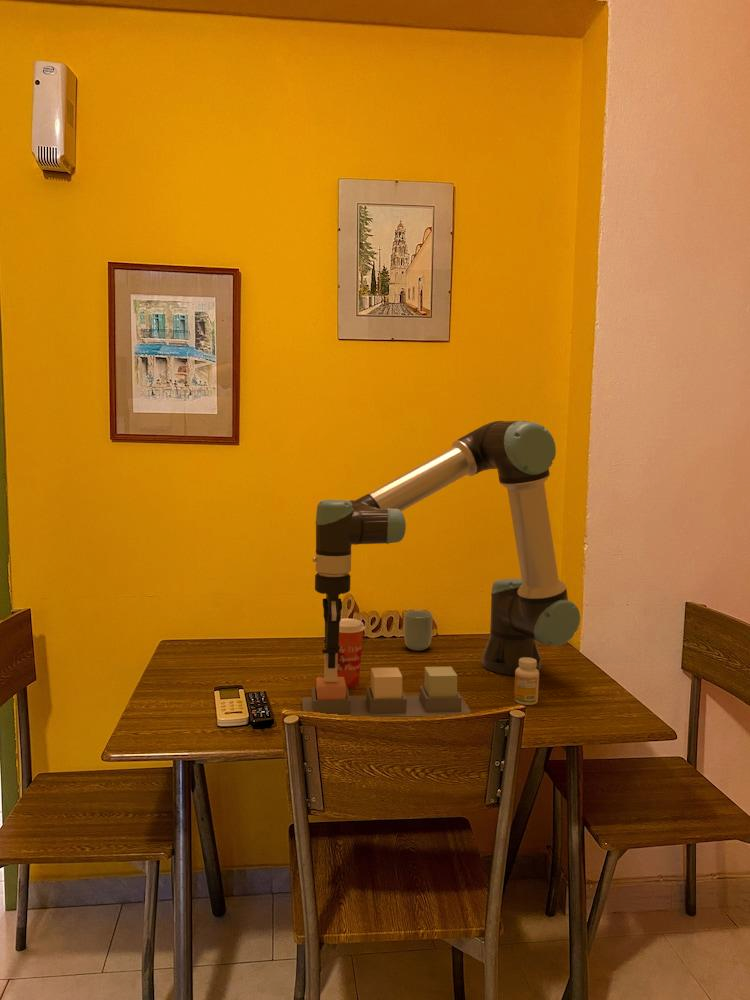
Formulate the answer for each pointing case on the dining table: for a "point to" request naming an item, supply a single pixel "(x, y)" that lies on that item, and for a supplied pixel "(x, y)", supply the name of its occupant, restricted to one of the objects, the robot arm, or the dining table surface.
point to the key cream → (386, 683)
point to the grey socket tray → (388, 705)
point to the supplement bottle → (526, 682)
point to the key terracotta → (330, 689)
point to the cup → (418, 629)
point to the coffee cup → (350, 650)
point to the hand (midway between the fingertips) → (330, 680)
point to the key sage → (440, 682)
